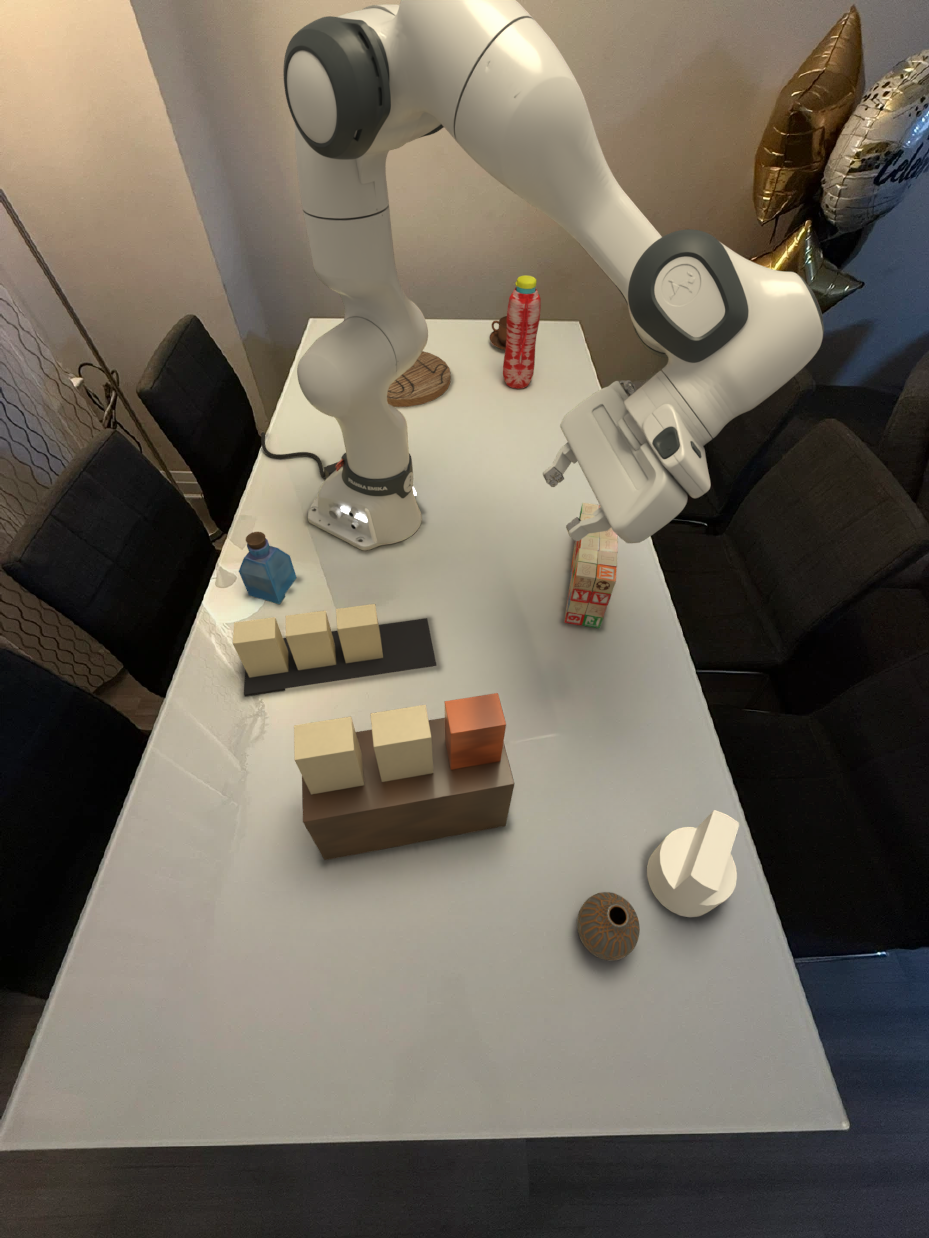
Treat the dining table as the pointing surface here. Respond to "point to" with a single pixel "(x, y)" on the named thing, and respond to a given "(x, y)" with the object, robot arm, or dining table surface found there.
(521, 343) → the water bottle
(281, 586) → the perfume bottle
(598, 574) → the stack of blocks
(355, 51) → the robot arm
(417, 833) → the brown wooden block
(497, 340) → the cappuccino
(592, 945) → the vase
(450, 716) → the orange wooden block
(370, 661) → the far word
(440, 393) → the trivet
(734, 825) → the cylinder with rectangular tab
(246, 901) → the dining table surface
